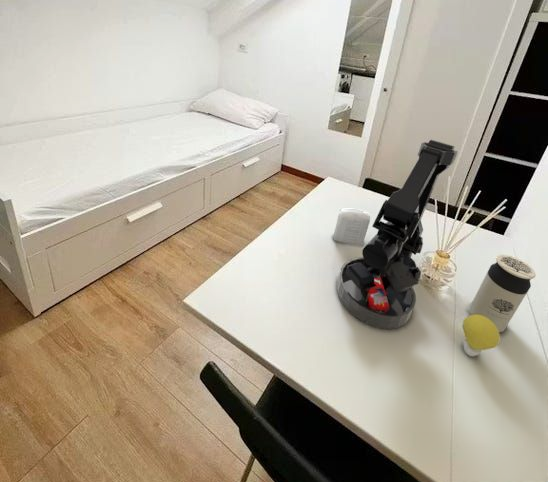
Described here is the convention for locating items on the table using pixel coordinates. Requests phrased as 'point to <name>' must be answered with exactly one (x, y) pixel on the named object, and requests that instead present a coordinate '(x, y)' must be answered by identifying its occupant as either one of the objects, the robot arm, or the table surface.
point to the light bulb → (479, 334)
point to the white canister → (502, 290)
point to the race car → (377, 297)
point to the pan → (357, 304)
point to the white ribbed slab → (351, 226)
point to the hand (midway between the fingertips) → (374, 292)
